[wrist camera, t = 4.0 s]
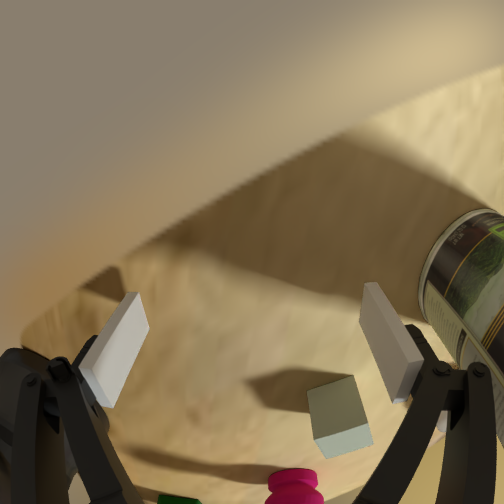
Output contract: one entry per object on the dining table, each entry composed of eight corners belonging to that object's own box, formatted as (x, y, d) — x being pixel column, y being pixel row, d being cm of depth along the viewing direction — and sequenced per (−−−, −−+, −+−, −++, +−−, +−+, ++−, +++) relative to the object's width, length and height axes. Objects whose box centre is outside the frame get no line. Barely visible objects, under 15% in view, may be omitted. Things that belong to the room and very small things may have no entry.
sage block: (318, 413, 24) (326, 459, 19) (306, 390, 22) (313, 439, 18) (360, 399, 23) (373, 444, 18) (353, 374, 22) (368, 423, 17)
